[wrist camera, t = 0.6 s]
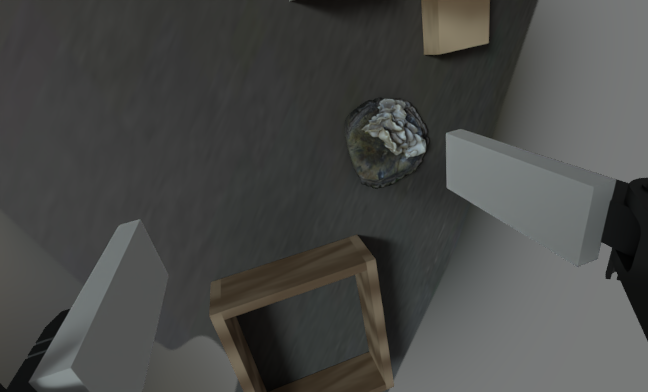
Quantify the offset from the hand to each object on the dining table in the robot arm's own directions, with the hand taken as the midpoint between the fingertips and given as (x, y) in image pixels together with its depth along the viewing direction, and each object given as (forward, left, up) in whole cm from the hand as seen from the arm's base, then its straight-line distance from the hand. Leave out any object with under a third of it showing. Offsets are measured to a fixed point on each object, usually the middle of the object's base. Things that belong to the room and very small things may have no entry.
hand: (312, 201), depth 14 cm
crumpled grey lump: (+7, +14, -24) cm, 29 cm away
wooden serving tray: (+30, -1, -23) cm, 38 cm away
